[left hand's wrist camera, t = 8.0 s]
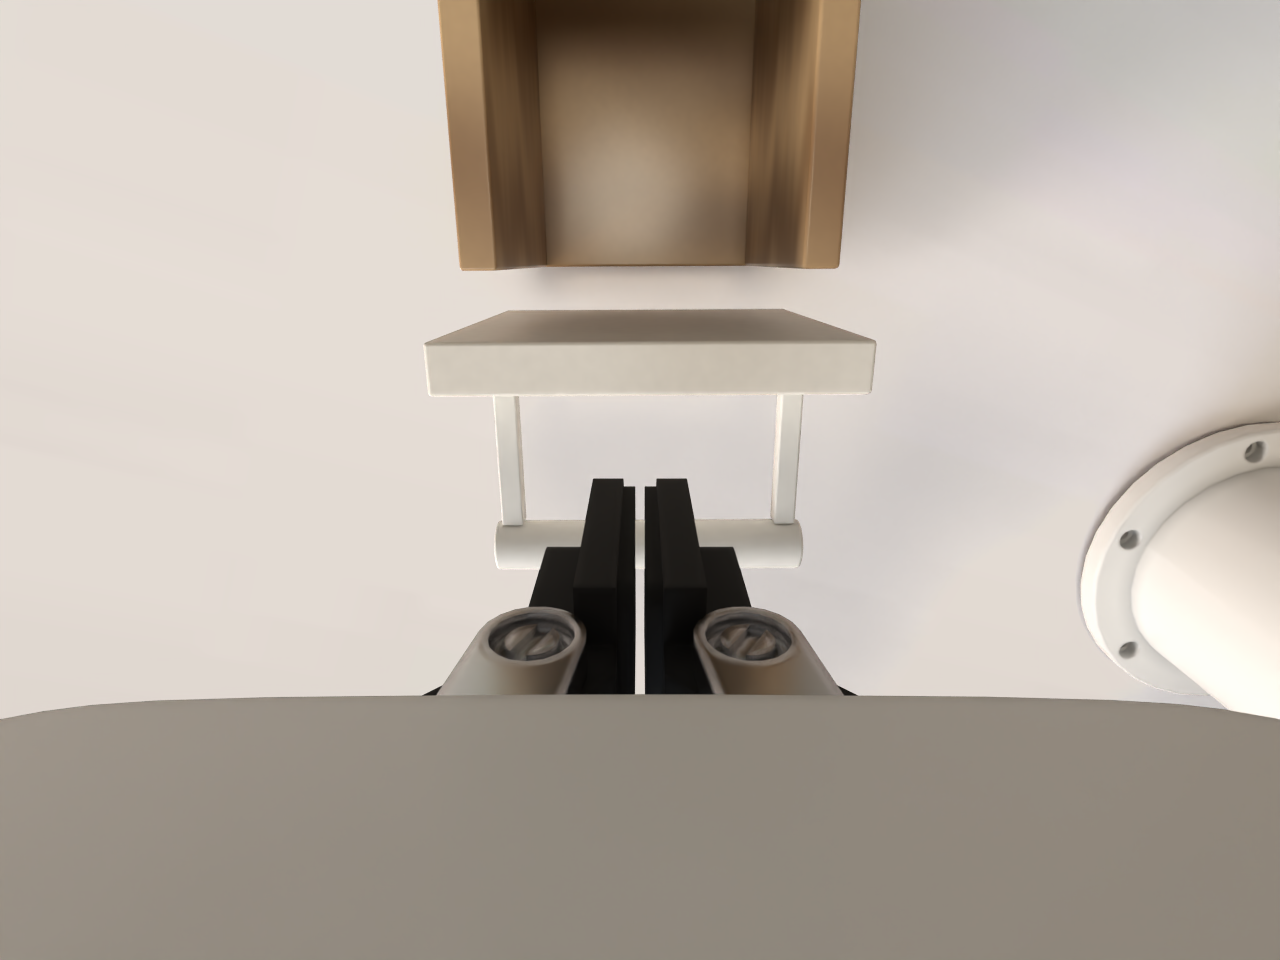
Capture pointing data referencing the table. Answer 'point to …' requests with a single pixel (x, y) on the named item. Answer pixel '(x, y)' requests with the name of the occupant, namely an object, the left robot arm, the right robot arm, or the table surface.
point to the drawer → (649, 216)
